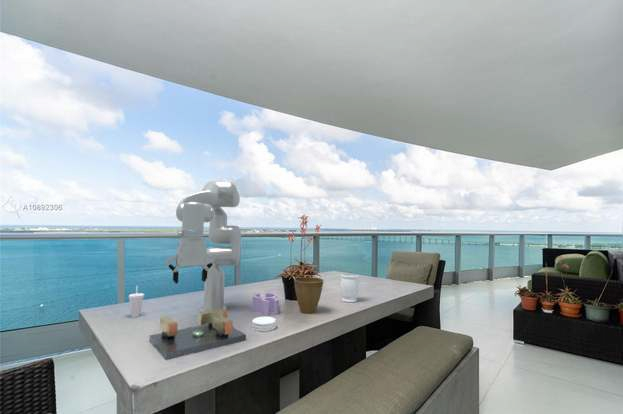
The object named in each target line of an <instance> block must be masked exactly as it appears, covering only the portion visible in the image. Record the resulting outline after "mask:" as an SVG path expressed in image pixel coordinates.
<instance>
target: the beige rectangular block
mask: <svg viewBox="0 0 623 414" xmlns="http://www.w3.org/2000/svg"><path fill="white" fill-rule="evenodd" d="M228 314H229V313H228V309H227V310H226V309H219V310H213V311H207V312H198V316H197V319H198V320H197V324H199V326H201V325H206V324H208V326H210V327H212V319H213V316H216V315H221V316H222V317H224V318H226V319H228Z"/></svg>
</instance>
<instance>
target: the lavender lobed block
mask: <svg viewBox="0 0 623 414" xmlns="http://www.w3.org/2000/svg"><path fill="white" fill-rule="evenodd" d="M260 295H261V293H259V292H254V294H253V295H252V310H253V311H254V312H260V313H261V315H263V316H265V317H270V313H273V315H274V316H277V315H278V314H279V298H278V294H277V293H272V292H270V291H266V292H265V295H264V296H265V297H261V296H260Z"/></svg>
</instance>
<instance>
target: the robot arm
mask: <svg viewBox="0 0 623 414" xmlns="http://www.w3.org/2000/svg"><path fill="white" fill-rule="evenodd" d="M240 200H241V199H240V193H239V191H238V188H237V186H236V185H235V183H233V181H223V180H219V181H218V180H211V181H208V182H207V183H206V184H205V185H204V187H203V188H202V189H201V191H198V192H196V193H193V194H191V195H187V196H186V197H183V198H182V200H181V201H180V202H179V204H178V205H177V207H176V210H175V216H176V218H177V220H178V221H179V222H182V223H181V231H177V234H176V235H177V236H180V238H179V241H178V245H177V248H176V254H174V255H173V256H170V257H168V258H166V259H165V262H166V265H167V267H168V268H169V269H170V270H171V271H172V282H174V284H176V285H177V284H179V274H180V273H179V271H178V270H179V269H181V268H183V267H184V268H190V267H201V268H202V270H201V281H202V282H204V287H203V288H204V289H203V306H202V307H200V309H199V311H200V312H199V313H201V312H207V311H213V310H219V309H226V310H228V308H227V306H226V305H225V303H224V302H225V279H226V276H225V271H224V270H223V269H222V266H223V267H225V266H226V267H233V266H237V265H238V264H239V263H240V259H241V245H242V243H241V242H242V232H241V228H240V227H239V226H237V225H231V224H230V225H228V215H227V212H225V210H224V209H223V208H236V207H238V206H239V204H240ZM205 223H209V228H208V229H209V230H208V241H209V242H210V243H211V244H217V246H209V247H207V241H206V238H205V239H204V229H205V228H204V226H205ZM219 245H230V246H219ZM174 260H175V266H174V264H172V262H173V261H174Z"/></svg>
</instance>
